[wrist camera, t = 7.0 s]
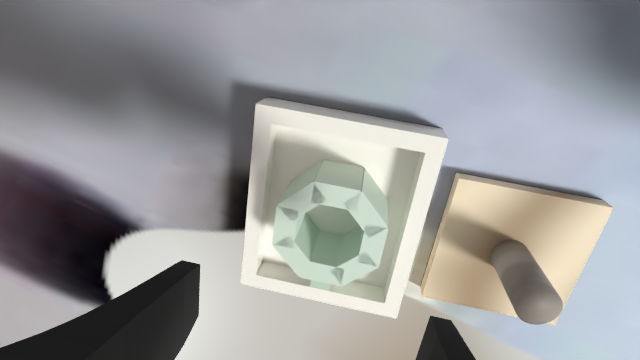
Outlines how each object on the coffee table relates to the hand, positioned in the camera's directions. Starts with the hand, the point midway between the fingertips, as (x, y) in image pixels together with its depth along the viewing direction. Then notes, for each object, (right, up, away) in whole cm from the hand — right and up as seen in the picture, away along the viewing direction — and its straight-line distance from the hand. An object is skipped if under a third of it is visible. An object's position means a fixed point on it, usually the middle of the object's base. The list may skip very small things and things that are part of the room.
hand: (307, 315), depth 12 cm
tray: (+1, +3, +9) cm, 9 cm away
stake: (+10, +1, +8) cm, 13 cm away
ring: (+1, +3, +8) cm, 9 cm away
